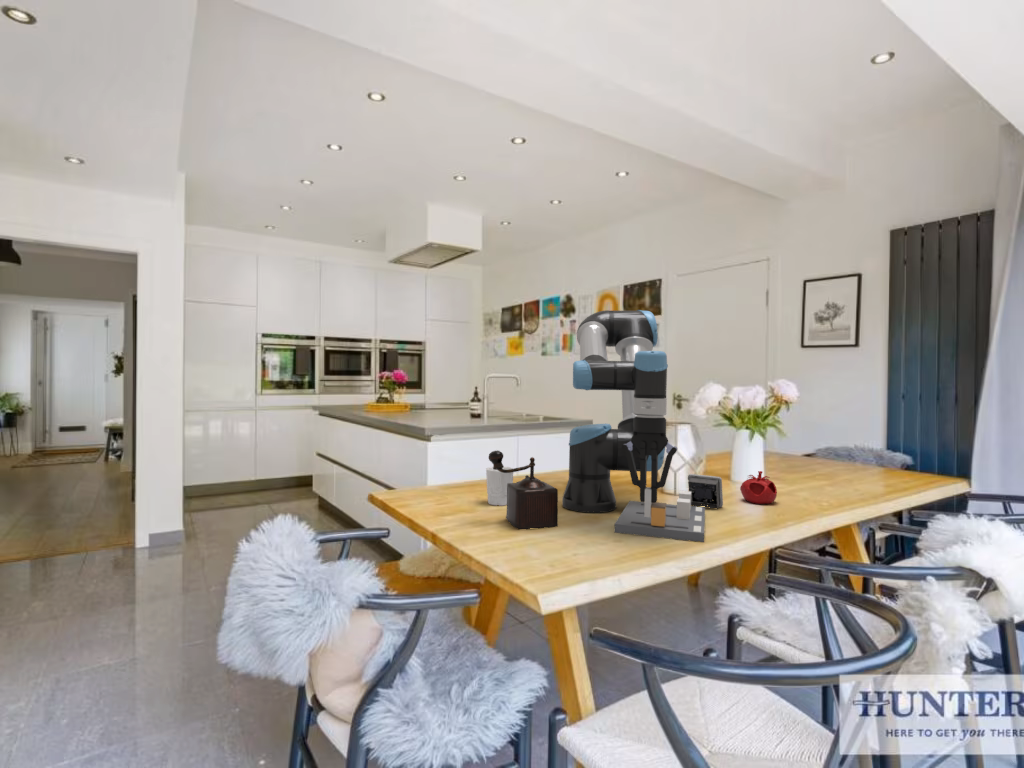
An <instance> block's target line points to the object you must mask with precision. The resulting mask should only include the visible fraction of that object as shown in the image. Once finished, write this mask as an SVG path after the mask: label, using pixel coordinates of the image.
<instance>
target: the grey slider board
mask: <svg viewBox="0 0 1024 768" xmlns="http://www.w3.org/2000/svg"><path fill="white" fill-rule="evenodd" d="M644 508H645V502H641V501H636V500H629V502H628V503H627V505H626V506H625V507H624V508H623V511H622V512H621V514H620V515H619V516H618V518H617V520H616V521H615V523H614V533H616V534H617V533H618V534H625V535H627V534H628V535H634V534H635V536H636V535H637V536H643V535H646V536H645V537H652V536H654V537H655V538H661V537H664V538H663V539H670V538H672V539H673V540H679V539H680V540H681V541H688V540H690V542H698V541H700V542H699V543H704V542H705V521H706V520H705V519H706V508H705V507H697V506H691V492H690V491H689V490H688V491H687V490H679V492H678V498H677V500H676V504H669V503H668V504H667V503H666V523H665V526H664V527H662V526H653V525H651V517H644Z"/></svg>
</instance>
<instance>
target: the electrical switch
mask: <svg viewBox="0 0 1024 768" xmlns="http://www.w3.org/2000/svg"><path fill="white" fill-rule="evenodd" d="M687 480H688V482H687V483H688V491H690V492H691V505H694V507H697V506H705V507H710V508H709V509H711V508H717V509H716V510H718V508H722V507H723V506H724V501H723V500H724V499H723V496H724V494H723V481H722V480H723V479H722V477H721V476H714V475H706V474H695V473H689V474H688V475H687ZM701 504H702V505H701ZM707 505H708V506H707Z"/></svg>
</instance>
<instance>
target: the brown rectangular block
mask: <svg viewBox="0 0 1024 768" xmlns="http://www.w3.org/2000/svg"><path fill="white" fill-rule="evenodd" d="M666 504H667V503H666V502H658V501H656V503H652V505H651V525H653V526H662V527H664V526H665V523H666Z"/></svg>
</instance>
